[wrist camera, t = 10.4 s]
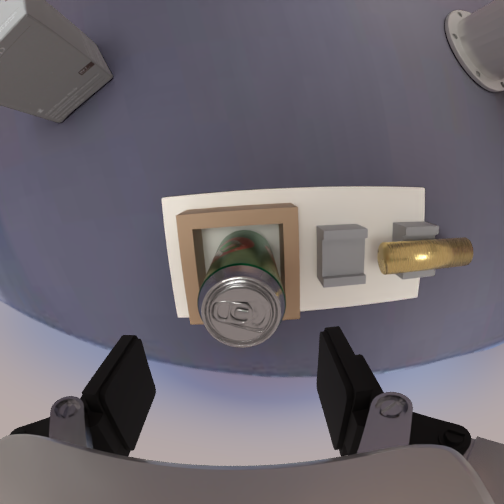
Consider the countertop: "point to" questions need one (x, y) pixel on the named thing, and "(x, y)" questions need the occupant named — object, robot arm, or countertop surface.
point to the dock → (301, 241)
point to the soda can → (242, 291)
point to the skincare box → (46, 61)
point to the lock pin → (423, 255)
